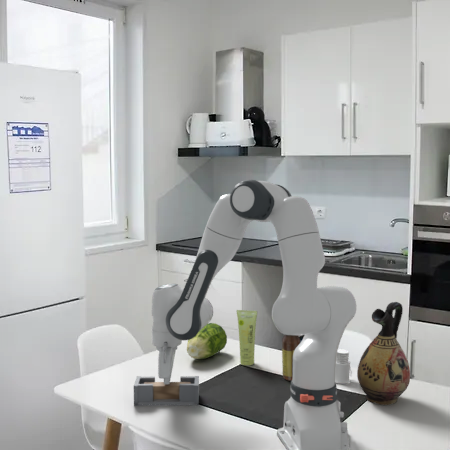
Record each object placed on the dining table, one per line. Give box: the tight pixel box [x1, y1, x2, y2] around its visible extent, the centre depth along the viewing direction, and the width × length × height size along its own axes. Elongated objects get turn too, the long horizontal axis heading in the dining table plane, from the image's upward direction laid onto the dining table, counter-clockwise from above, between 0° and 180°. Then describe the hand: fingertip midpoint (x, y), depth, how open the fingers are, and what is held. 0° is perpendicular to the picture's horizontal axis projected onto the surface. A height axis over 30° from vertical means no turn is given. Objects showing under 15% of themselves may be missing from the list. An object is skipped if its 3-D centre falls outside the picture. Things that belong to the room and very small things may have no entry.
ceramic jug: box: [356, 301, 411, 406], centre depth 185 cm, size 17×15×30 cm
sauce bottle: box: [281, 334, 301, 382], centre depth 203 cm, size 6×6×20 cm
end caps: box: [133, 375, 200, 406], centre depth 184 cm, size 19×8×6 cm, turn 91°
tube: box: [236, 309, 258, 366], centre depth 217 cm, size 6×5×20 cm
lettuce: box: [186, 322, 228, 360], centre depth 224 cm, size 12×21×11 cm, turn 157°
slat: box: [144, 381, 191, 399], centre depth 184 cm, size 14×4×4 cm, turn 92°
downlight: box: [335, 348, 353, 385], centre depth 202 cm, size 8×7×10 cm
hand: (167, 382), depth 184 cm, fingers closed
